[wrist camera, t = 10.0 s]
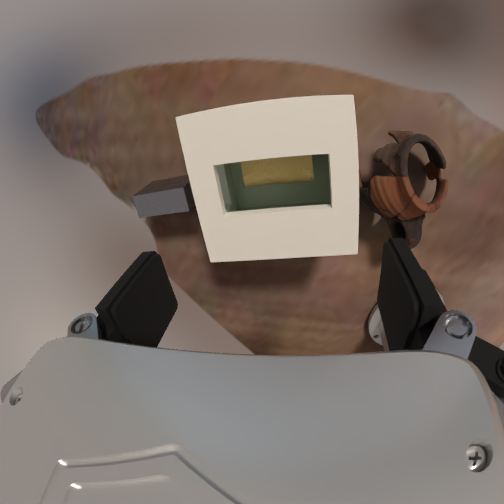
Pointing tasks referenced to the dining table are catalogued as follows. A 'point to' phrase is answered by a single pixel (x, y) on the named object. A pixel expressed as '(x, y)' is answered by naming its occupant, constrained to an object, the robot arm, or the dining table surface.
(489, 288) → the dining table surface
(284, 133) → the cream slotted box
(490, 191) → the dining table surface
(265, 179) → the block
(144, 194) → the block
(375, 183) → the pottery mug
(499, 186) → the dining table surface
